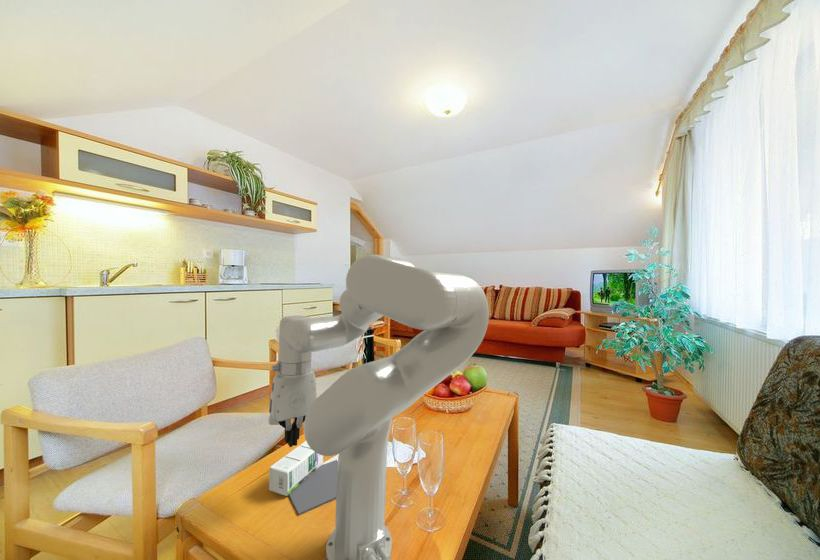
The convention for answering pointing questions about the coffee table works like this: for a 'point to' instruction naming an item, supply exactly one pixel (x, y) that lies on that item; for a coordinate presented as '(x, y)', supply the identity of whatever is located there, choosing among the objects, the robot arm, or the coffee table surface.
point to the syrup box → (293, 469)
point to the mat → (316, 488)
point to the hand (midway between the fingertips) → (291, 443)
